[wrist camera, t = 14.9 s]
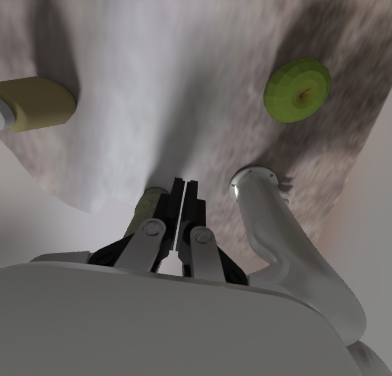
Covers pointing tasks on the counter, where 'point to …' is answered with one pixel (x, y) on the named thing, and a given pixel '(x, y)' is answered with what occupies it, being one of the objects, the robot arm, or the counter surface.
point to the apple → (297, 90)
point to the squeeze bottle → (34, 104)
